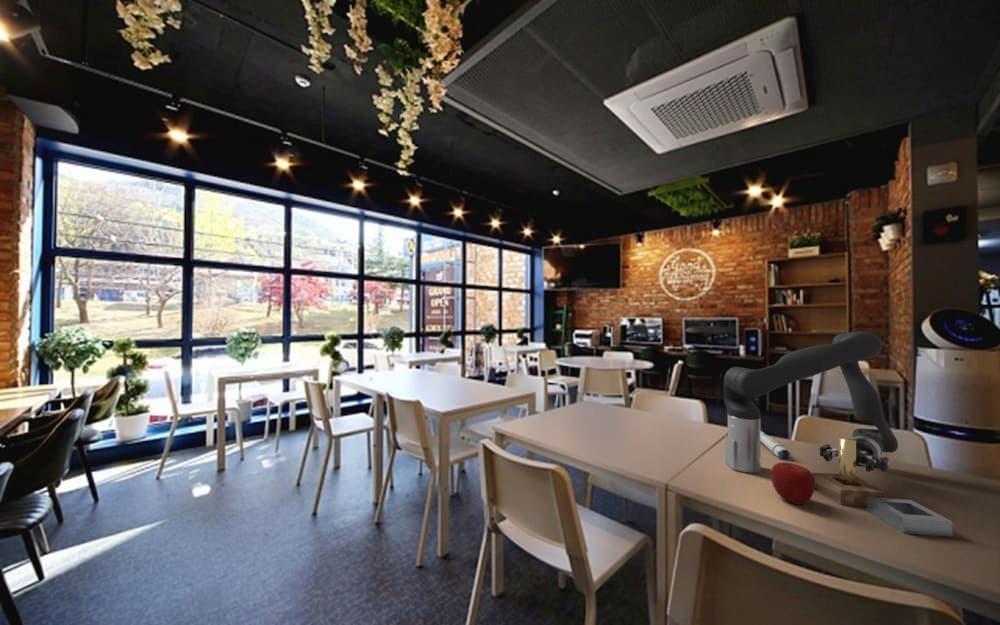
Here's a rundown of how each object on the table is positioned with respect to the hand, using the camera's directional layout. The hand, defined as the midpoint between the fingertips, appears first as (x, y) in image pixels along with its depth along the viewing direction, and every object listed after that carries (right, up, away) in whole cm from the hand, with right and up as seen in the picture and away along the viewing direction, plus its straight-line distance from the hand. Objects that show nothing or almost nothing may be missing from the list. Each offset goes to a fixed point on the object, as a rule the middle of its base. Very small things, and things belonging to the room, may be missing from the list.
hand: (846, 462), depth 104 cm
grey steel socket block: (+3, -10, -13) cm, 16 cm away
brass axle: (+1, -10, 0) cm, 10 cm away
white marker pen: (+5, -10, +39) cm, 40 cm away
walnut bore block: (+1, -10, 0) cm, 10 cm away
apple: (-17, -10, -2) cm, 20 cm away
